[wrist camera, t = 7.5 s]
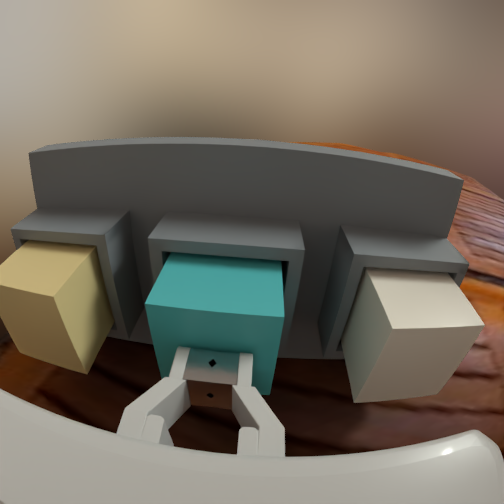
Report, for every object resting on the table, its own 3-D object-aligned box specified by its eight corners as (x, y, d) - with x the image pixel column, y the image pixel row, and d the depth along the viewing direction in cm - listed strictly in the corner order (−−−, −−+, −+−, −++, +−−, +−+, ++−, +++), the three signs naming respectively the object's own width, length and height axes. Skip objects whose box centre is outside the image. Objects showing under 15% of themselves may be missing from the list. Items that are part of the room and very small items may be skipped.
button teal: (270, 329, 17) (280, 252, 14) (269, 395, 13) (284, 317, 10) (182, 320, 17) (175, 243, 14) (162, 383, 13) (144, 303, 10)
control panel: (387, 339, 22) (446, 170, 15) (404, 388, 18) (494, 200, 11) (83, 313, 22) (47, 145, 15) (57, 355, 18) (-5, 167, 11)
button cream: (413, 337, 16) (445, 269, 14) (437, 394, 12) (484, 325, 10) (340, 337, 16) (363, 263, 14) (353, 402, 12) (392, 328, 10)
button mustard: (117, 317, 16) (99, 242, 14) (87, 374, 13) (53, 296, 10) (53, 305, 16) (31, 237, 14) (19, 352, 13) (-16, 280, 10)
